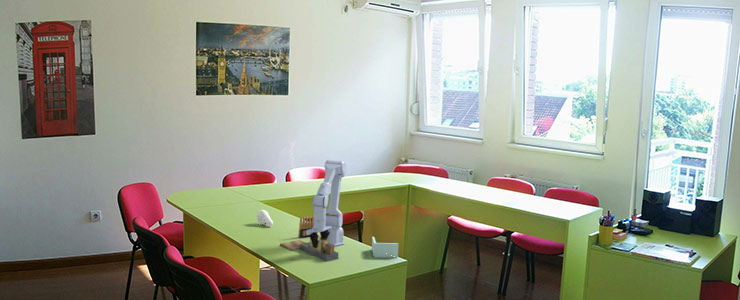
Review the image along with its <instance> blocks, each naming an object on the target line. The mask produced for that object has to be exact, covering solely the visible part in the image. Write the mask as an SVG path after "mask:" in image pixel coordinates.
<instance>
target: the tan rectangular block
mask: <svg viewBox="0 0 740 300" xmlns="http://www.w3.org/2000/svg"><path fill="white" fill-rule="evenodd" d="M309 242H310V247H311V248H313V249H316V250H318V251H322V249H325V244H328V240H327V239H325V238H322V237H321V236H320V235H319V236H318V240H317V248H314V247H313V245H312V241H311V238H310V237H309Z"/></svg>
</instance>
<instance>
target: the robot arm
mask: <svg viewBox="0 0 740 300" xmlns="http://www.w3.org/2000/svg"><path fill="white" fill-rule="evenodd" d="M346 168H347V166H346V162H345V160H334V159H326V160H325V162H324V170H325V176H324V179H323V182H321V183H320V184H319V187H318V190H317V192H316V194H315V195H314V196H313V197H312V202H311V203H312V210H313V216H314V227H313V228H312V229H309V230H306V234H308V235H309V236H310V237H309V239H310V238H311V241H312V245H313V247H314V248H317V240H318V236H319V237H322V238H325V239H327V240H328V243H330V244H332V245H334V247H336V246H340V245H344V244H345V242H344V232H345V231H344V229H343V228H342V226H343V219H344V218H343V216H344V214H343V212H341V210H339V202H340V194H341V193H340V192H341V186H342V185H341V183H342V179H343V178H344V177H345V175H346V171H347V170H346ZM327 207H328V208H327ZM316 233H317V234H316Z"/></svg>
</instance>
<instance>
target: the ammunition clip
mask: <svg viewBox="0 0 740 300" xmlns="http://www.w3.org/2000/svg"><path fill="white" fill-rule="evenodd" d="M313 227H314V214H312V215H309V217H308V215H306V216H305V215H303V217H302V216H300V218H299V227H298V236H297V238H299V239H307V238H310V236H309V235H308V234H306V230H309V229H312V228H313ZM316 234H317V235H318V233H316Z"/></svg>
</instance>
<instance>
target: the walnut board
mask: <svg viewBox="0 0 740 300" xmlns="http://www.w3.org/2000/svg"><path fill="white" fill-rule="evenodd" d="M304 243H306V242H305V241H303V240H301V239H299V240H292V241H289V242H288V241H287V242H283V243H282V242H281V243H279V246H281V247H284V248H285V249H288V250H290V251H296V250H300V244H304Z"/></svg>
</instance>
